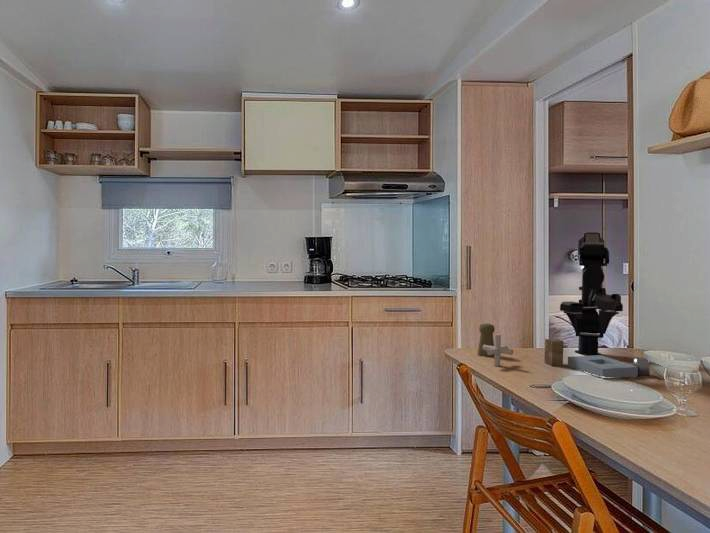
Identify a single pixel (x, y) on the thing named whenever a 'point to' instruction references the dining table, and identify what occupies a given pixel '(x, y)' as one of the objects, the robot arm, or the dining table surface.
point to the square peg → (553, 352)
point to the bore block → (602, 366)
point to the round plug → (642, 366)
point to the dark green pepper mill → (486, 338)
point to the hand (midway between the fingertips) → (590, 334)
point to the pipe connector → (497, 350)
